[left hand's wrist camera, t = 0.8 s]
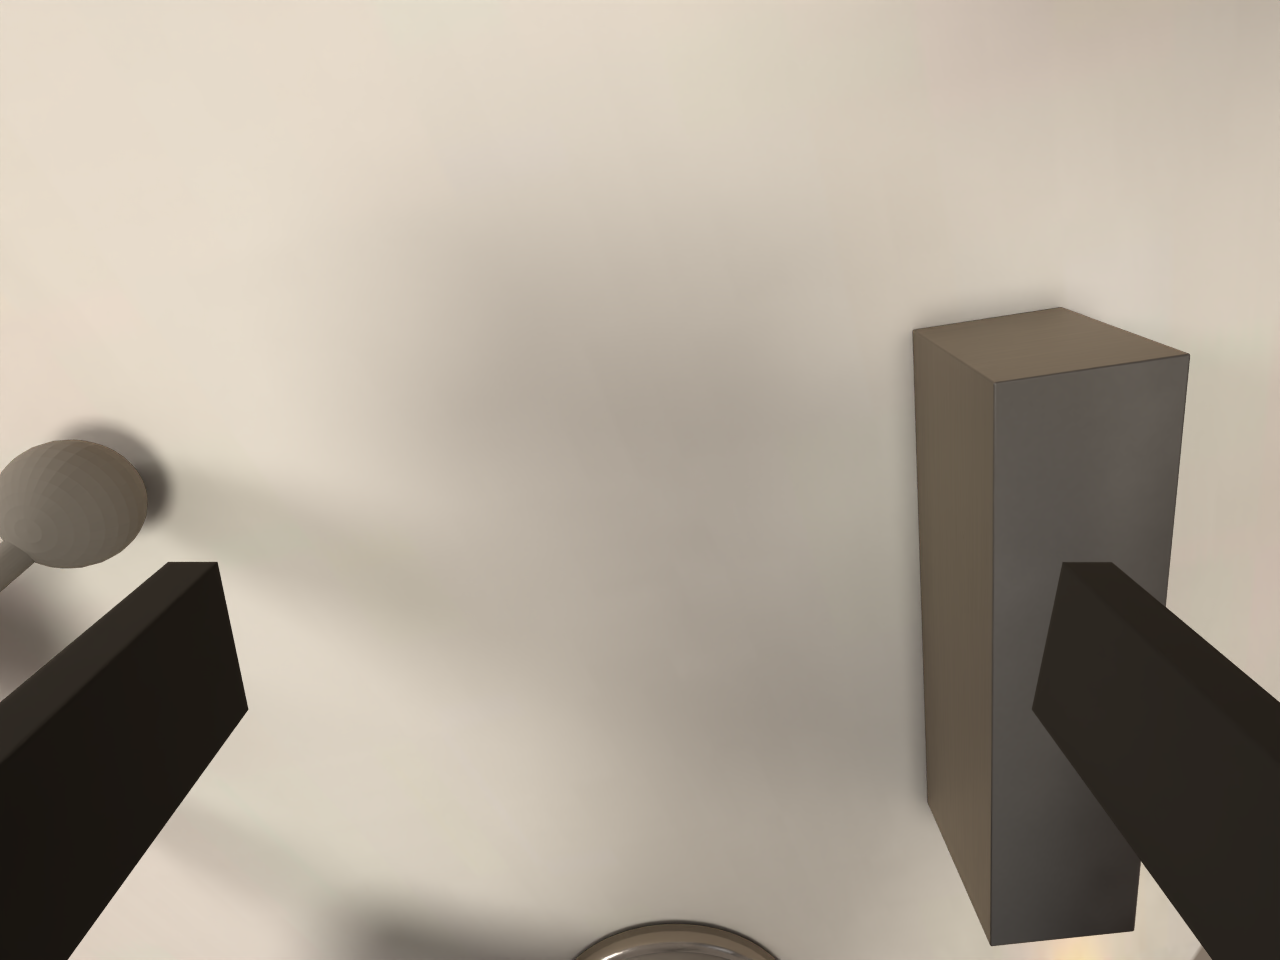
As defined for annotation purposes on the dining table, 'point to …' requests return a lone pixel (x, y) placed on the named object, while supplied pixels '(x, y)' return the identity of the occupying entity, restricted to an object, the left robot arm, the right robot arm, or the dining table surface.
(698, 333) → the dining table surface
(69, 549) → the molecular model
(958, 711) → the box
